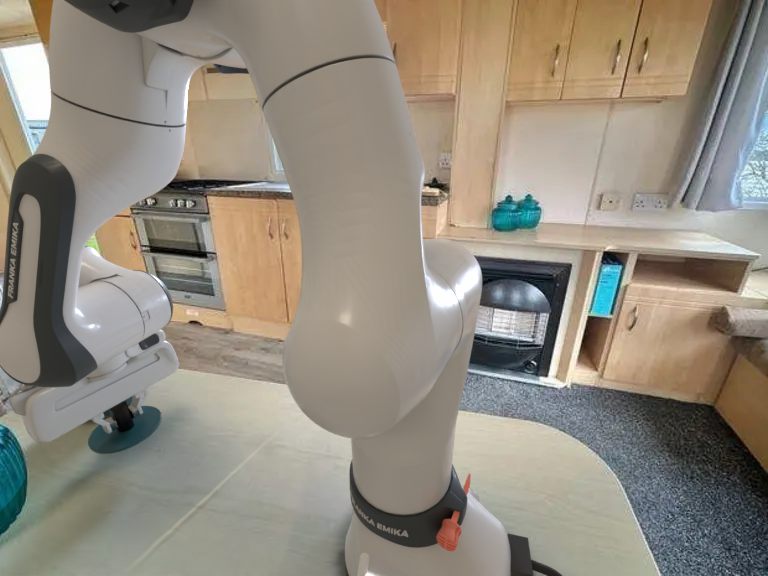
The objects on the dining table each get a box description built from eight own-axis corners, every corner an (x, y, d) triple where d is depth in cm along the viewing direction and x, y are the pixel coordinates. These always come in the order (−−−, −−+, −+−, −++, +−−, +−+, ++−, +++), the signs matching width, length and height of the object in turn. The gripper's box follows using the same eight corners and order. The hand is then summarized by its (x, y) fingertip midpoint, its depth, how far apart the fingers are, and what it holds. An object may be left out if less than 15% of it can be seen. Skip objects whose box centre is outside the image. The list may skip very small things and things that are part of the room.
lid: (175, 422, 61) (167, 396, 58) (109, 466, 52) (97, 438, 50) (143, 403, 65) (134, 379, 63) (78, 441, 57) (65, 414, 55)
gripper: (12, 399, 43) (55, 478, 48) (173, 327, 59) (192, 392, 65) (-6, 384, 46) (36, 460, 51) (152, 319, 62) (172, 382, 68)
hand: (124, 422), depth 58 cm, fingers closed on lid, 2 cm apart
